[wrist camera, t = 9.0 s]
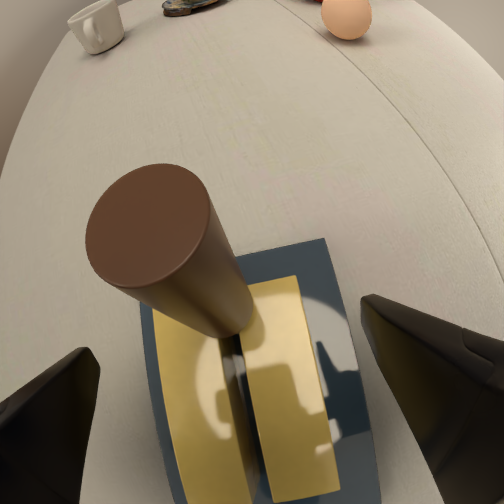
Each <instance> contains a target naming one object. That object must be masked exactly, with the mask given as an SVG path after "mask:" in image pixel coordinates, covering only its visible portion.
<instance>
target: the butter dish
mask: <svg viewBox="0 0 504 504" xmlns="http://www.w3.org/2000/svg"><path fill="white" fill-rule="evenodd" d="M235 258H236V260H237V263H238V265H239V267H240V270H241V272H242V274H243V277H244V279H245V281H246V284H247V286H248V288H249V291H250V293H251V296H252V300H253V310H252V314H251V317H250V320H249V321H248V323H247V324H246V326H245V327H244V328H243V329H242V330H241V331H240V332H239V334H235V335H233V336H230V337H227V338H212V337H209V336H206V335H204V334H202V333H200V332H198V331H196V330H194V329H192V328H190V327H188V326H186V325H184V324H182V323H180V322H178V321H176V320H174V319H172V318H170V317H168V316H166V315H164V314H162V313H161V312H159V311H157V310H155V309H153V308H151V307H149V306H148V305H146V304H144V303H142V302H140V313H141V325H142V335H143V345H144V354H145V362H146V370H147V377H148V384H149V390H150V396H151V402H152V408H153V414H154V419H155V424H156V430H157V434H158V439H159V444H160V448H161V453H162V457H163V461H164V465H165V469H166V473H167V477H168V481H169V485H170V488H171V492H172V495H173V499H174V502H175V504H382V503H381V494H380V486H379V478H378V470H377V463H376V456H375V450H374V443H373V437H372V431H371V425H370V420H369V414H368V409H367V404H366V399H365V394H364V389H363V384H362V379H361V375H360V370H359V366H358V361H357V357H356V352H355V348H354V344H353V340H352V336H351V332H350V328H349V324H348V320H347V316H346V312H345V308H344V304H343V301H342V297H341V293H340V290H339V286H338V282H337V279H336V275H335V272H334V269H333V265H332V262H331V258H330V255H329V252H328V248H327V245H326V242H325V239H324V238H321V239H316V240H312V241H307V242H302V243H298V244H293V245H288V246H284V247H279V248H274V249H270V250H265V251H260V252H256V253H251V254H246V255H242V256H237V257H235Z"/></svg>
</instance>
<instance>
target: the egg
mask: <svg viewBox="0 0 504 504" xmlns="http://www.w3.org/2000/svg"><path fill="white" fill-rule="evenodd" d="M321 15H322V20H323V22H324V24H325V26H326V27H327V28H328V30H329V31H330V32H331V33H332V34H334V35H335V36H337V37H339V38H341V39H345V40H351V39H356V38H359V37H361V36H362V35H363V34H364V33H366V32H367V30H368V29H369V27H370V25H371V21H372V11H371V7H370V4H369V2H368V0H323V3H322V8H321Z"/></svg>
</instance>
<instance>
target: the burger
mask: <svg viewBox="0 0 504 504" xmlns="http://www.w3.org/2000/svg"><path fill="white" fill-rule="evenodd" d="M216 1H218V0H167V1H166V2H164V3H163V4H162V8H164V12H163V13H164V14H165V15H167V16H180V15H182V14H183V15H186V14H190V12H191V9H192V8H197V7H201V6H205V5H208V4H210V3H214V2H216Z"/></svg>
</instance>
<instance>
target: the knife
mask: <svg viewBox="0 0 504 504" xmlns="http://www.w3.org/2000/svg"><path fill="white" fill-rule="evenodd" d="M85 244H86V252H87V256H88V259H89V261H90V264H91V266H92V267H93V269H94V271H95V272H96V273H97V274H98V275H99V277H101V278H102V279H103V280H104V281H105V282H107V283H109V284H110V285H112V286H114V287H116V288H117V289H119V290H121V291H123V292H124V293H126V294H128V295H130V296H131V297H133V298H135V299H137V300H138V301H140V302H142V303H144V304H146V305H148V306H149V307H151V308H153V309H155V310H157V311H159V312H161V313H162V314H164V315H166V316H168V317H170V318H172V319H174V320H176V321H178V322H180V323H182V324H184V325H186V326H188V327H190V328H192V329H194V330H196V331H198V332H200V333H202V334H204V335H206V336H209V337H212V338H227V337H230V336H233V335H235V334H239V332H240V331H241V330H242V329H243V328H244V327H245V326H246V324H247V323H248V321H249V320H250V317H251V314H252V310H253V300H252V296H251V293H250V291H249V288H248V286H247V284H246V281H245V279H244V277H243V274H242V272H241V270H240V267H239V265H238V263H237V260H236V258H235V256H234V253H233V251H232V249H231V246H230V244H229V242H228V239H227V237H226V235H225V232H224V230H223V228H222V225H221V223H220V221H219V218H218V216H217V213H216V211H215V209H214V206H213V204H212V202H211V199H210V197H209V194H208V192H207V190H206V188H205V186H204V184H203V183H202V181H201V180H200V179H199V178H198V177H197V176H196V175H195V174H194V173H192V172H191V171H189V170H187V169H185V168H183V167H180V166H177V165H173V164H152V165H147V166H143V167H141V168H138V169H135V170H133V171H131V172H129V173H127V174H126V175H124V176H122V177H121V178H120V179H118V180H117V181H116V182H114V183H113V184H112V185H111V186H110V187H109V188H108V189H107V190H106V191H105V192H104V194H103V195H102V196H101V197H100V199H99V200H98V202H97V203H96V205H95V207H94V209H93V211H92V213H91V215H90V218H89V221H88V225H87V229H86V238H85Z"/></svg>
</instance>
